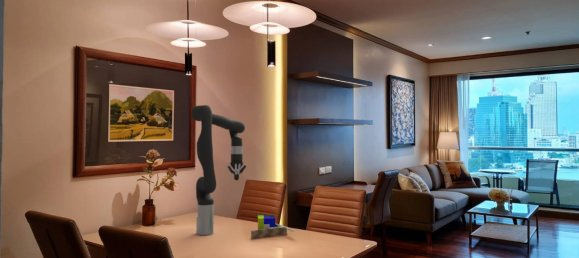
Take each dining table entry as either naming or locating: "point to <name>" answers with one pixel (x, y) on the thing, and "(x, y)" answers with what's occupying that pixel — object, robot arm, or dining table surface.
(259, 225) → the puzzle toy
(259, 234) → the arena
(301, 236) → the dining table surface
